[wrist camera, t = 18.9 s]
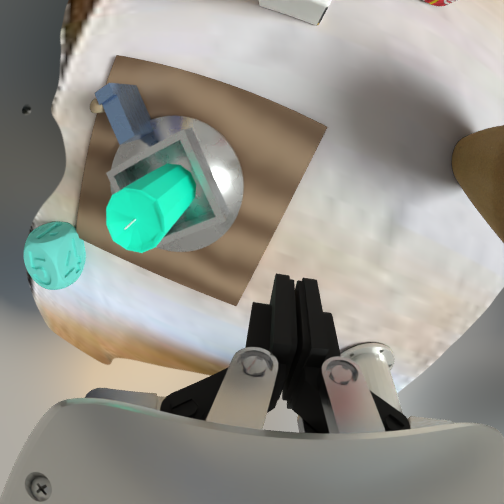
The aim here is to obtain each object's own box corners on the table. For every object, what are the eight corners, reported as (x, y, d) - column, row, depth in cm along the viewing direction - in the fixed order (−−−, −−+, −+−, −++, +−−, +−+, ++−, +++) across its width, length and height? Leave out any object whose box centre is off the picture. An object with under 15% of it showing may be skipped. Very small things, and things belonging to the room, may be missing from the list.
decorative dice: (82, 223, 38) (51, 246, 31) (89, 267, 41) (64, 294, 34) (48, 219, 38) (17, 240, 31) (56, 260, 42) (30, 285, 35)
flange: (265, 223, 34) (263, 247, 28) (151, 264, 38) (133, 289, 32) (192, 54, 25) (173, 43, 19) (81, 124, 29) (50, 130, 23)
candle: (170, 221, 34) (128, 272, 23) (140, 184, 32) (84, 222, 21) (207, 192, 32) (173, 236, 21) (174, 152, 30) (123, 177, 19)
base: (237, 302, 41) (230, 335, 35) (79, 233, 38) (53, 254, 32) (325, 126, 29) (339, 130, 23) (120, 56, 26) (89, 49, 20)
